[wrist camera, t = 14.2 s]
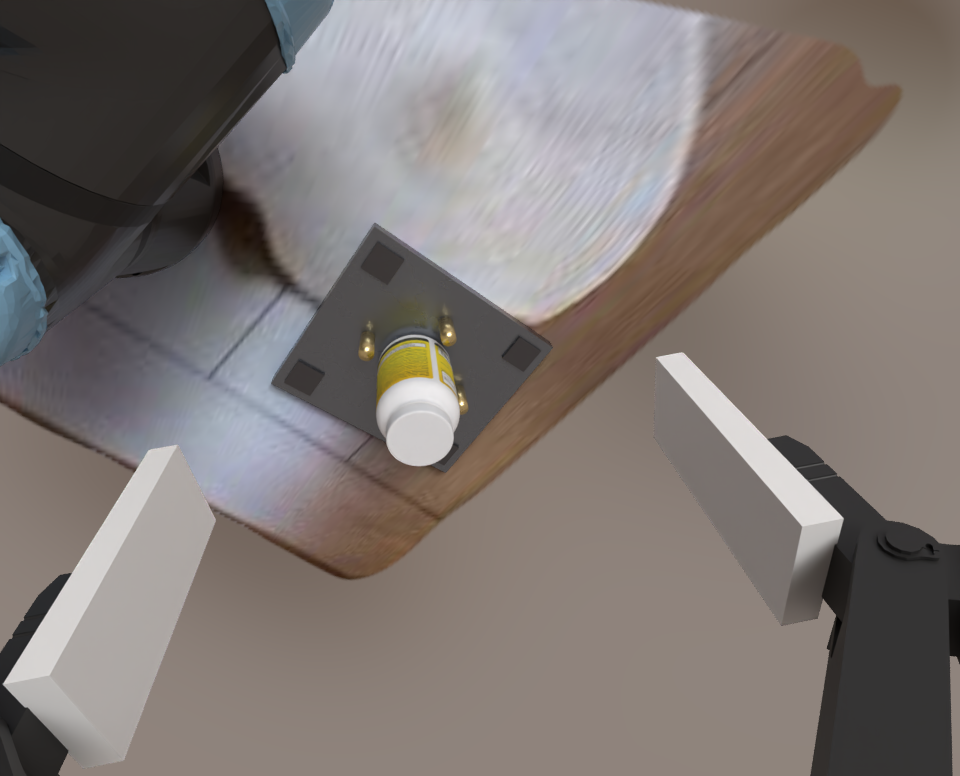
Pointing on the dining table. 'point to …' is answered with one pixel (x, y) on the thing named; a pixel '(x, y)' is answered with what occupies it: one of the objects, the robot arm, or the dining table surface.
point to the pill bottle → (416, 400)
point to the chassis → (400, 312)
